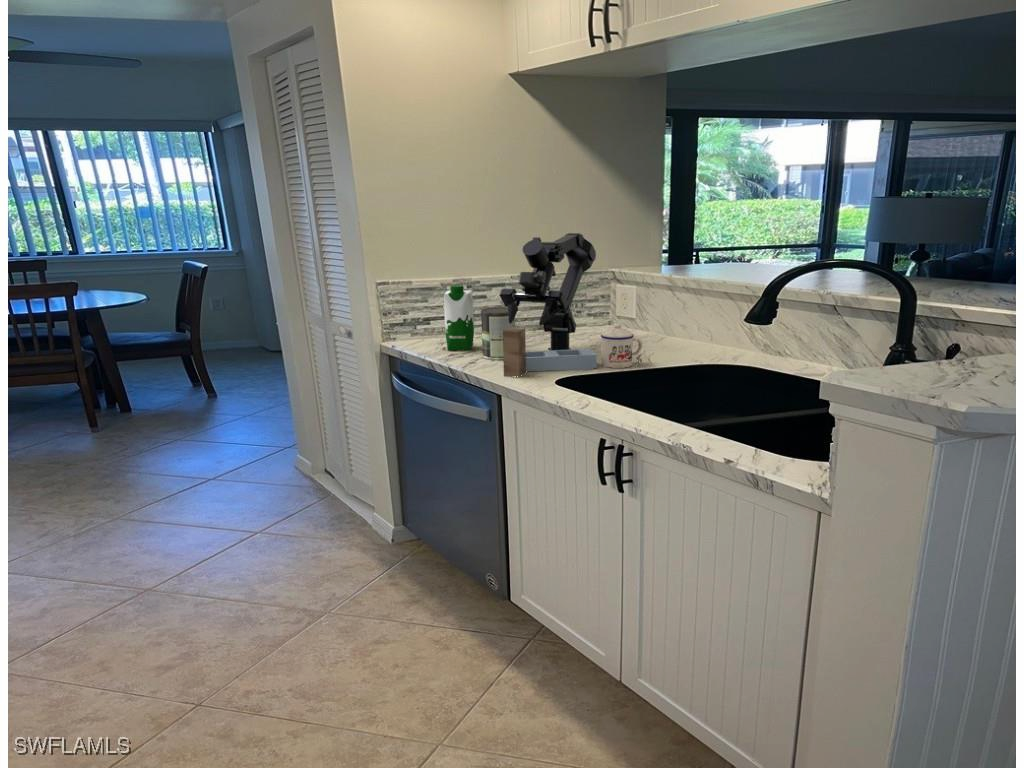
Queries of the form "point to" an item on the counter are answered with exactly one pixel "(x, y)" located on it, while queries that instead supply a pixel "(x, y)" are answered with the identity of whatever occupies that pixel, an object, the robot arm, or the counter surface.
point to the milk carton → (459, 318)
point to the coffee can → (494, 331)
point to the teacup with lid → (618, 347)
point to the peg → (514, 351)
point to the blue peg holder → (561, 360)
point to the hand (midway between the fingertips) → (524, 323)
